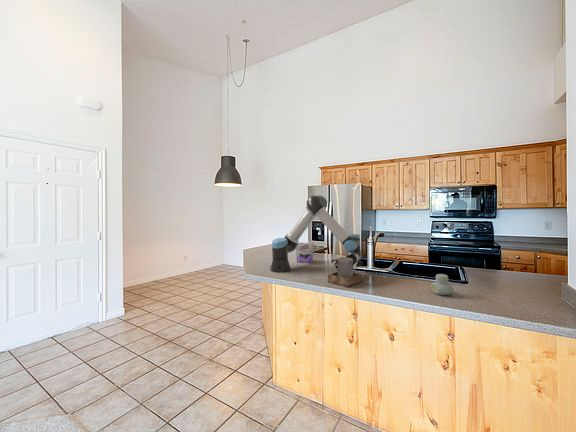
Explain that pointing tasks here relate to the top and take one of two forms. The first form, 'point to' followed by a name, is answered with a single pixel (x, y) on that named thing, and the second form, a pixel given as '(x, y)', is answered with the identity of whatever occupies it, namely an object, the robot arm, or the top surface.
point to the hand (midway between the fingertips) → (343, 266)
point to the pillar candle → (345, 267)
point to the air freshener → (442, 285)
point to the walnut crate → (345, 279)
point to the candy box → (304, 252)
